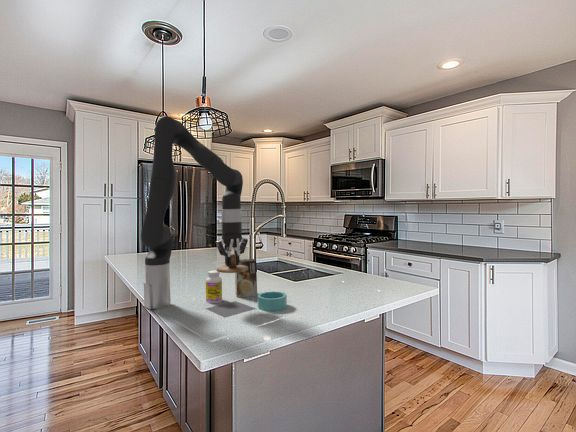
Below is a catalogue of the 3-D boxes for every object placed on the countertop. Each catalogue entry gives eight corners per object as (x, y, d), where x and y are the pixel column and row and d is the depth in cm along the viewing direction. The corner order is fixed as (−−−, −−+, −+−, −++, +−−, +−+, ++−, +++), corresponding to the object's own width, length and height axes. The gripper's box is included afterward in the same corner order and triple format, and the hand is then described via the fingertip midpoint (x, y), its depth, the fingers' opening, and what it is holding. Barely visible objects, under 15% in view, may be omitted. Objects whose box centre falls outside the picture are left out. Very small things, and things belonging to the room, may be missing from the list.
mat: (224, 318, 116) (224, 317, 116) (205, 309, 127) (205, 308, 127) (256, 309, 126) (256, 308, 126) (235, 302, 136) (235, 301, 136)
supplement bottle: (205, 304, 133) (204, 273, 133) (206, 300, 140) (205, 270, 139) (222, 303, 135) (221, 272, 134) (222, 299, 141) (221, 269, 141)
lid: (228, 274, 117) (227, 258, 117) (210, 269, 126) (210, 254, 126) (254, 269, 126) (254, 254, 125) (236, 265, 134) (236, 251, 134)
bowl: (270, 314, 121) (270, 301, 120) (252, 307, 129) (252, 295, 128) (291, 307, 128) (291, 295, 128) (273, 301, 136) (273, 290, 136)
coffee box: (255, 293, 150) (254, 258, 150) (257, 296, 144) (256, 260, 144) (234, 294, 148) (234, 259, 147) (236, 298, 142) (235, 261, 141)
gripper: (221, 222, 118) (221, 269, 118) (252, 220, 127) (253, 264, 128) (210, 221, 123) (211, 267, 124) (241, 220, 133) (241, 262, 133)
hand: (232, 265), depth 126 cm, fingers closed on lid, 3 cm apart
